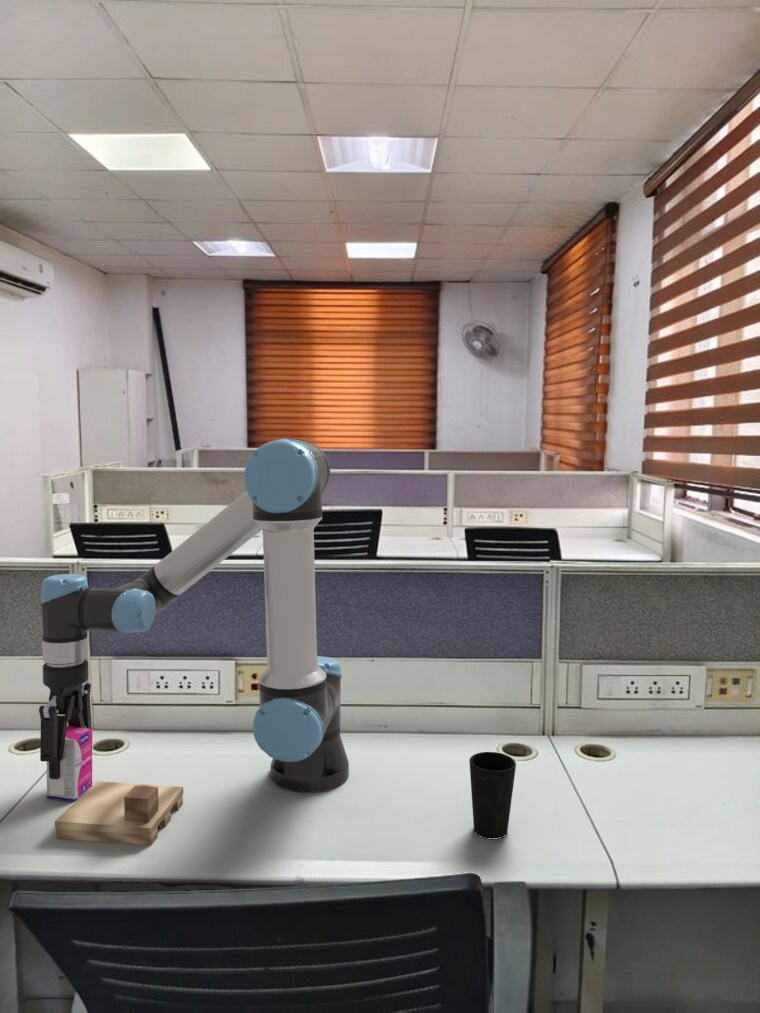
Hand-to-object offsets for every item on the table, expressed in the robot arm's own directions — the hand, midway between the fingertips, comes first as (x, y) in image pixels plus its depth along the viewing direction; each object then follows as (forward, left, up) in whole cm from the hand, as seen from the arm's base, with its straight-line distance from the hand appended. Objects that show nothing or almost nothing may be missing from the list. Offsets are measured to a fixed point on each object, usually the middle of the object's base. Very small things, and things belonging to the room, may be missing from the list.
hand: (68, 785), depth 133 cm
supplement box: (0, 0, -2) cm, 2 cm away
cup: (-76, +3, -2) cm, 76 cm away
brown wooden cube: (-19, +11, +2) cm, 22 cm away
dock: (-14, +8, -1) cm, 16 cm away
